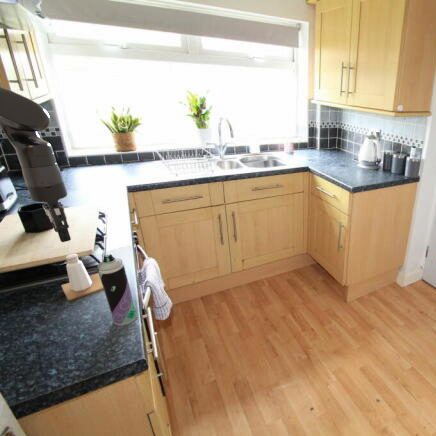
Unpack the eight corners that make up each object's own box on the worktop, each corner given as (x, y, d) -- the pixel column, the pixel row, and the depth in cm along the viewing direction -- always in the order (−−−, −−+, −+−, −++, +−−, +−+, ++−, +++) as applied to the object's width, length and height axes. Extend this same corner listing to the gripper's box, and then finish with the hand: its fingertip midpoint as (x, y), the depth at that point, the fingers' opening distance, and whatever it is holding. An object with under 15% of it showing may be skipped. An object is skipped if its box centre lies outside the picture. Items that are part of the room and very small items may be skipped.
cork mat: (61, 304, 91) (60, 302, 91) (54, 289, 97) (54, 287, 97) (109, 286, 99) (108, 285, 99) (100, 273, 105) (100, 272, 105)
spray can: (121, 328, 83) (101, 263, 75) (109, 321, 86) (89, 257, 78) (141, 316, 88) (125, 253, 80) (129, 309, 90) (112, 247, 82)
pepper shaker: (66, 291, 96) (54, 260, 91) (79, 280, 100) (68, 250, 96) (84, 292, 96) (73, 260, 91) (96, 281, 101) (86, 251, 96)
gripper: (22, 177, 86) (41, 231, 92) (30, 190, 77) (50, 249, 84) (57, 173, 91) (73, 224, 97) (68, 184, 82) (85, 240, 89)
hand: (62, 235), depth 90 cm, fingers open, 8 cm apart
